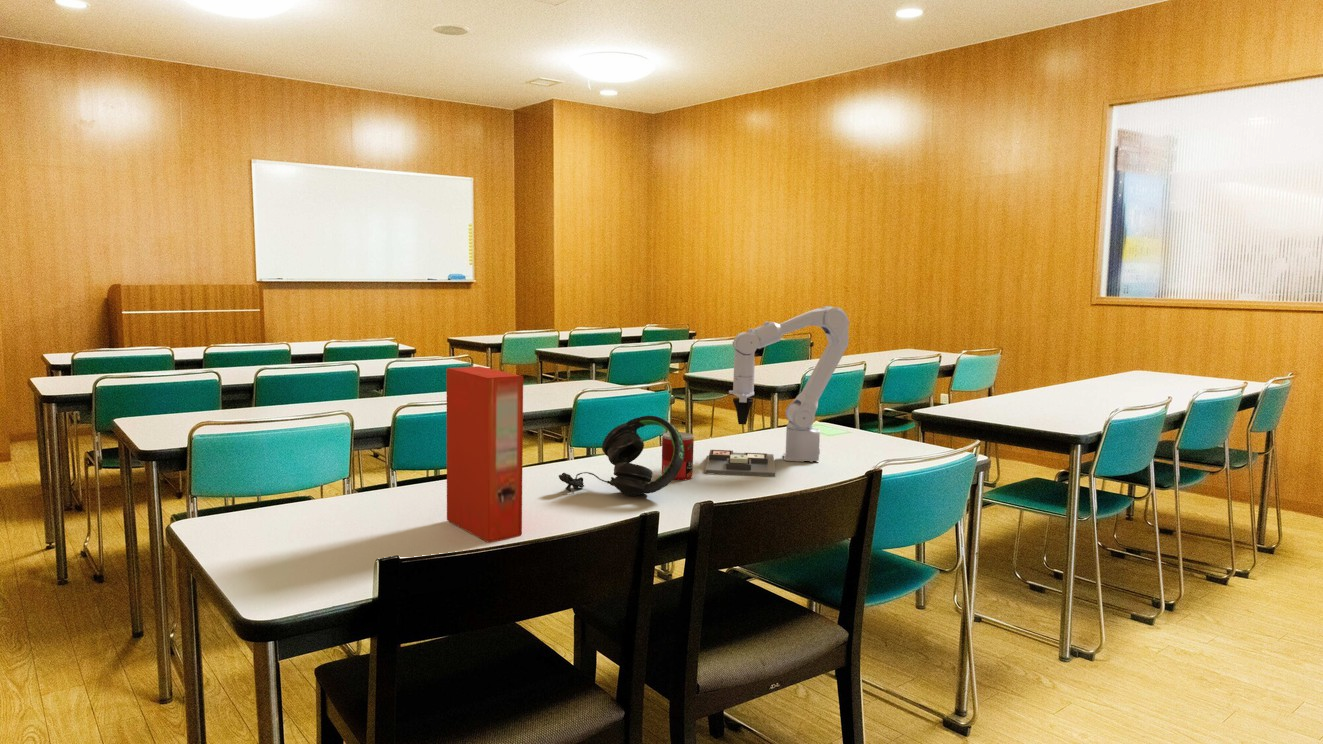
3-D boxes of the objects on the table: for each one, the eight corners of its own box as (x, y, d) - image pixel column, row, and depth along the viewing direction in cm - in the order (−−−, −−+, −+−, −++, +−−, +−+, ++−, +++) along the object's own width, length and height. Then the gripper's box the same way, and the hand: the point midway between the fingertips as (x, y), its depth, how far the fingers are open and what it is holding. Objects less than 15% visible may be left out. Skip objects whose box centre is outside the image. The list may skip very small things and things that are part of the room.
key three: (729, 455, 239) (729, 451, 239) (729, 459, 234) (729, 454, 234) (713, 455, 239) (713, 450, 239) (712, 458, 235) (712, 454, 234)
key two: (747, 459, 228) (747, 454, 228) (747, 463, 224) (747, 458, 223) (730, 458, 229) (730, 454, 228) (729, 462, 224) (730, 457, 224)
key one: (764, 458, 236) (764, 454, 236) (764, 462, 231) (764, 457, 231) (747, 458, 236) (747, 453, 236) (747, 461, 232) (747, 457, 232)
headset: (593, 524, 206) (698, 478, 197) (562, 513, 194) (672, 463, 186) (579, 457, 214) (678, 411, 206) (548, 443, 203) (652, 393, 194)
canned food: (692, 481, 214) (693, 438, 213) (661, 480, 214) (661, 437, 213) (692, 473, 222) (693, 432, 220) (661, 473, 222) (662, 431, 221)
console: (773, 457, 242) (773, 449, 242) (775, 476, 221) (775, 467, 220) (709, 455, 244) (709, 446, 244) (705, 473, 222) (705, 464, 222)
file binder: (482, 514, 183) (481, 365, 178) (523, 535, 169) (523, 375, 165) (446, 521, 177) (445, 368, 173) (486, 543, 164) (485, 378, 160)
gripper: (730, 372, 245) (728, 418, 247) (728, 378, 230) (727, 428, 232) (754, 373, 244) (753, 419, 246) (755, 379, 230) (753, 429, 231)
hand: (742, 424), depth 239 cm, fingers closed
